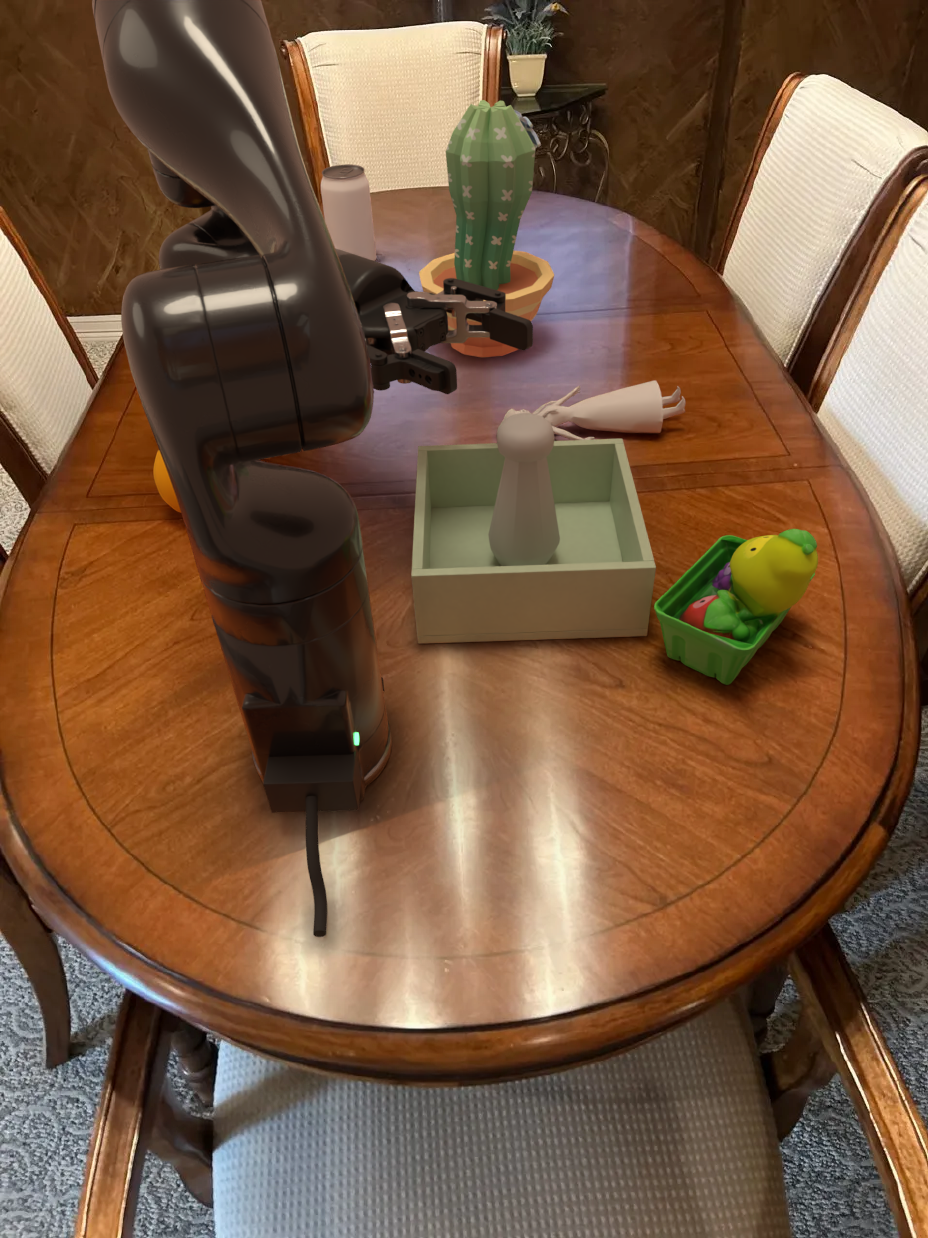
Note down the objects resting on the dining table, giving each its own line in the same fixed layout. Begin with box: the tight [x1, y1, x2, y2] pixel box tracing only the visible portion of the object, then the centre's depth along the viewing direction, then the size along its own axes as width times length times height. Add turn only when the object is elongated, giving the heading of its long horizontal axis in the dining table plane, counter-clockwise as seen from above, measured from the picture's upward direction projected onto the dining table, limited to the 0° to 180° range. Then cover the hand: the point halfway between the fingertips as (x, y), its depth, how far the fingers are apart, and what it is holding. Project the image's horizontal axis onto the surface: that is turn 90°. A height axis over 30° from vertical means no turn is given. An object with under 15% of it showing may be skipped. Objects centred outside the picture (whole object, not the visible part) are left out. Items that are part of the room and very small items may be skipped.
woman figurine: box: [503, 379, 686, 440], centre depth 92 cm, size 12×4×18 cm
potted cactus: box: [418, 99, 555, 358], centre depth 100 cm, size 15×15×25 cm
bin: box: [410, 438, 657, 644], centre depth 74 cm, size 18×18×7 cm
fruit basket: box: [653, 528, 819, 686], centre depth 65 cm, size 11×9×11 cm
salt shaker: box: [488, 412, 560, 566], centre depth 72 cm, size 6×6×13 cm
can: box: [320, 163, 377, 261], centre depth 124 cm, size 6×6×12 cm
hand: (493, 357), depth 66 cm, fingers open, 8 cm apart
